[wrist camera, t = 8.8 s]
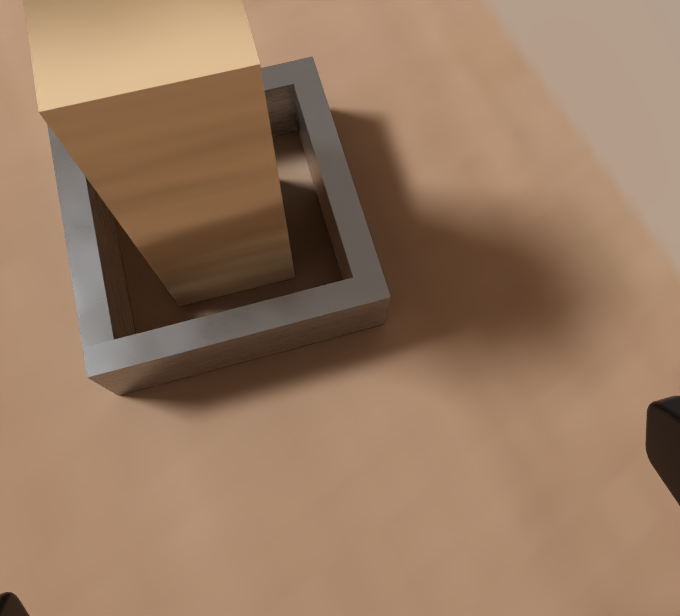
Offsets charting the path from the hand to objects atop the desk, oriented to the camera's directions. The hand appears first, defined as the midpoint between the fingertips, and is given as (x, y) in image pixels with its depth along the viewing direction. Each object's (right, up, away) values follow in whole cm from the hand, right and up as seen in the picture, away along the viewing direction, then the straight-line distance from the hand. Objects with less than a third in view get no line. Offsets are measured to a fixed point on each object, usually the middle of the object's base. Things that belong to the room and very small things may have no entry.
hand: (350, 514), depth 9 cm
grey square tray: (-5, +6, +16) cm, 18 cm away
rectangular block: (-5, +6, +16) cm, 18 cm away
